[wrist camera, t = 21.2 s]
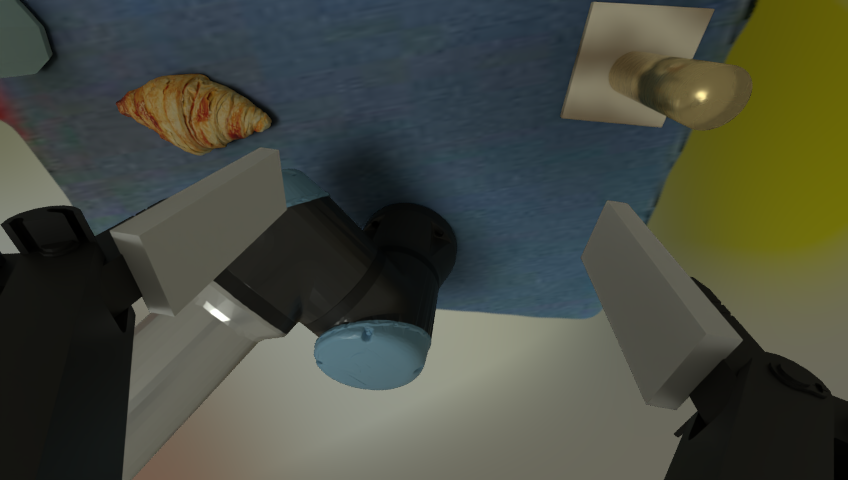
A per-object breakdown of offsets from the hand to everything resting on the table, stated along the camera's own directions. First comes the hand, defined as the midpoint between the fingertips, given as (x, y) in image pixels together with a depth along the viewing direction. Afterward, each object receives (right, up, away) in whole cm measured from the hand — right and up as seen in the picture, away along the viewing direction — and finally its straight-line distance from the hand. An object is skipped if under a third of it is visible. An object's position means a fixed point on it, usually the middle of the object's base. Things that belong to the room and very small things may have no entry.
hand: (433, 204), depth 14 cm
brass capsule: (+21, +16, +21) cm, 34 cm away
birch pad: (+21, +17, +22) cm, 35 cm away
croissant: (-31, +16, +33) cm, 48 cm away
